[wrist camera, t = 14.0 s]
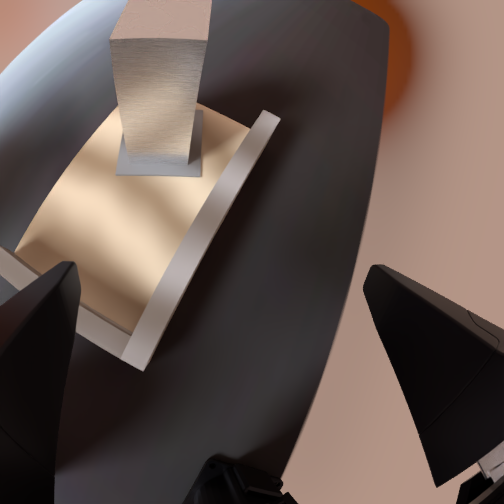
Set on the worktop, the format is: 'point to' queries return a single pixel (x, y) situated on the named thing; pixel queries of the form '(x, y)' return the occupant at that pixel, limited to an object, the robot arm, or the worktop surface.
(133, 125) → the aluminium post
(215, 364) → the worktop surface
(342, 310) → the worktop surface
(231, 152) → the corner arena
